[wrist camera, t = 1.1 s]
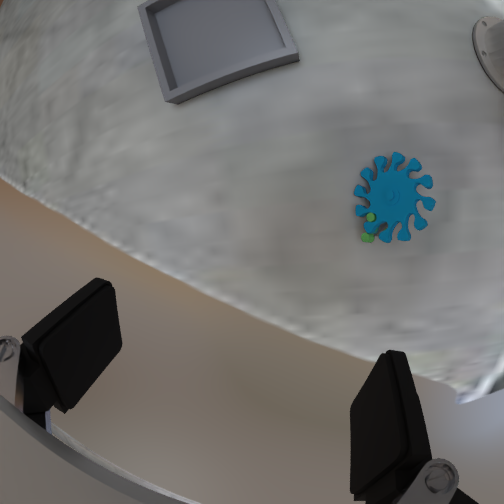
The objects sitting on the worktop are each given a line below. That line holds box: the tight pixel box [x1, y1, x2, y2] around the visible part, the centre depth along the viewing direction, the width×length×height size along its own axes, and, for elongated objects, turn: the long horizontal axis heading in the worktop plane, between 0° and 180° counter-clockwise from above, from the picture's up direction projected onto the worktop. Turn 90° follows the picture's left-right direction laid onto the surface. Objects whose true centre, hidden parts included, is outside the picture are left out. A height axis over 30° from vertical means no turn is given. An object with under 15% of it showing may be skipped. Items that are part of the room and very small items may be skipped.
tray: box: [138, 0, 300, 104], centre depth 26 cm, size 16×16×4 cm
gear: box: [354, 152, 436, 243], centre depth 30 cm, size 11×6×10 cm
